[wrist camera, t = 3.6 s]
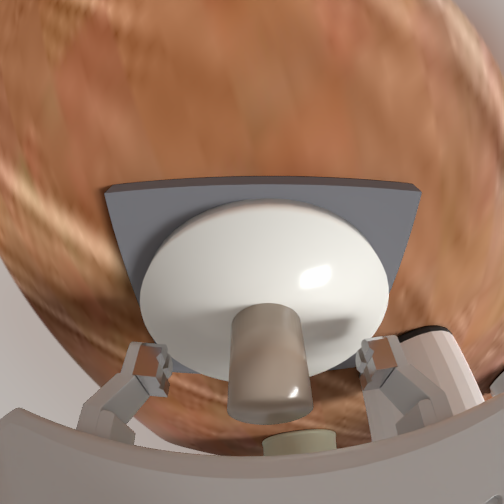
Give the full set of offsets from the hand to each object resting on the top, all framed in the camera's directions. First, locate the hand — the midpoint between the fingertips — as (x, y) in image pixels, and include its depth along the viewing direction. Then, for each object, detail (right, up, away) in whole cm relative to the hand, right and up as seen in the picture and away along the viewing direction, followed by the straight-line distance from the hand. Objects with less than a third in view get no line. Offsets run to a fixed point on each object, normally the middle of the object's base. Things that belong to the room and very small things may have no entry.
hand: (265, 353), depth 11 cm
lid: (0, +1, +2) cm, 2 cm away
